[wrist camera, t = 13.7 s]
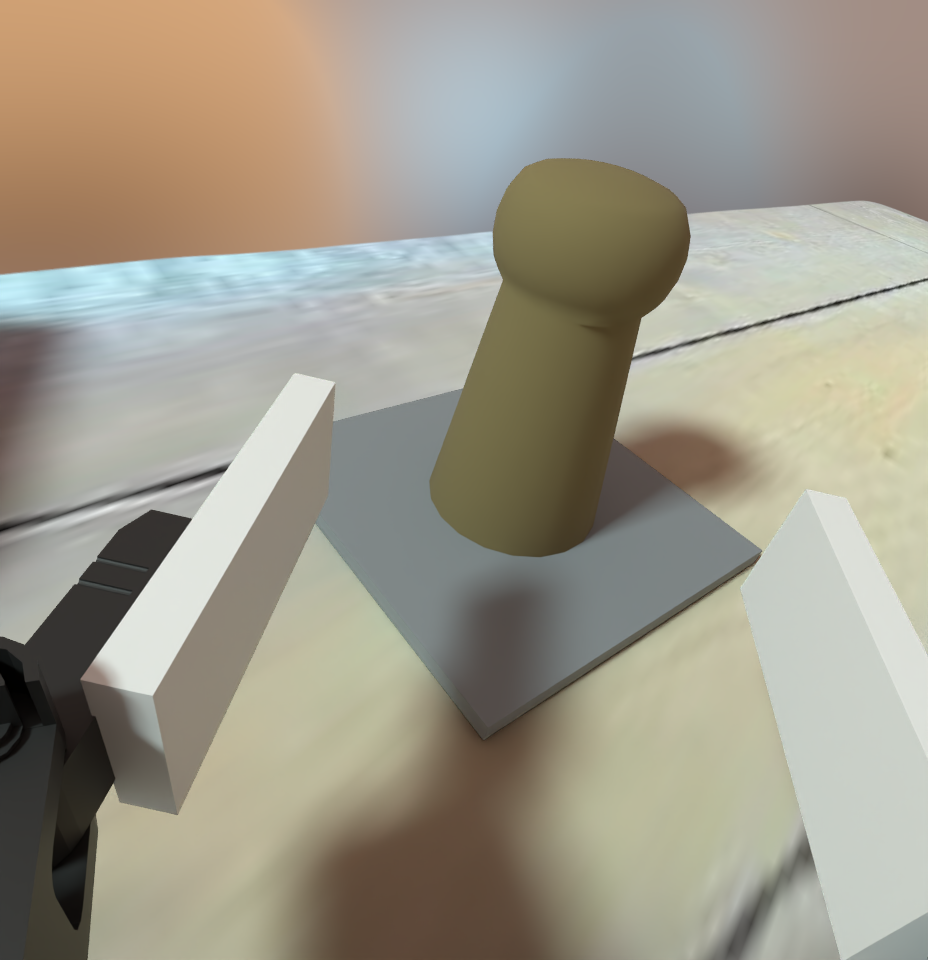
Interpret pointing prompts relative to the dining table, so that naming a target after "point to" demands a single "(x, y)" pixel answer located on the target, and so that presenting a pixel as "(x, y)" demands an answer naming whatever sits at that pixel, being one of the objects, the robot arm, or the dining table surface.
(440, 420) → the mat
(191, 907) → the dining table surface
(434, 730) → the dining table surface
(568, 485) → the cork
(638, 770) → the dining table surface
